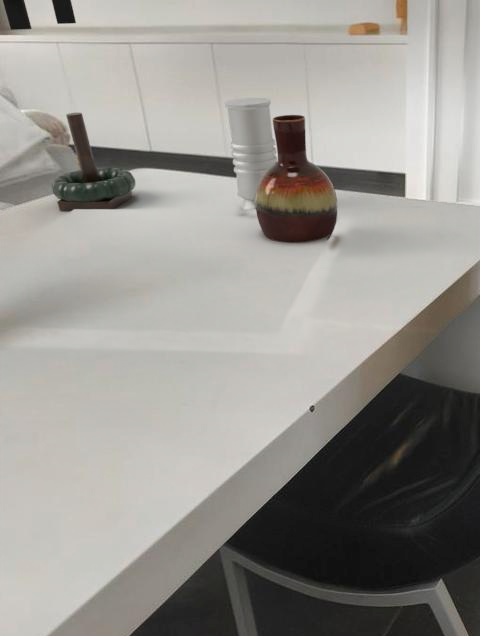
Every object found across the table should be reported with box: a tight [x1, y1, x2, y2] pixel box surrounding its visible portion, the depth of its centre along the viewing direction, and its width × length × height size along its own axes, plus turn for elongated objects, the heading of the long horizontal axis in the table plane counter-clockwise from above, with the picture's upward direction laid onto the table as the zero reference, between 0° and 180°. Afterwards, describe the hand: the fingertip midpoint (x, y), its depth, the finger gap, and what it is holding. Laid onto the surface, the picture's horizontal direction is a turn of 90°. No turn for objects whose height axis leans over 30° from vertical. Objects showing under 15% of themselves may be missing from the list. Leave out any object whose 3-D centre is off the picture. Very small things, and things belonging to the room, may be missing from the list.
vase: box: [255, 114, 338, 243], centre depth 91 cm, size 11×11×15 cm
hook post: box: [56, 112, 133, 212], centre depth 112 cm, size 9×9×14 cm
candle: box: [224, 97, 278, 210], centre depth 106 cm, size 7×7×15 cm
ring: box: [51, 167, 136, 202], centre depth 114 cm, size 13×13×3 cm
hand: (45, 26), depth 101 cm, fingers open, 13 cm apart
